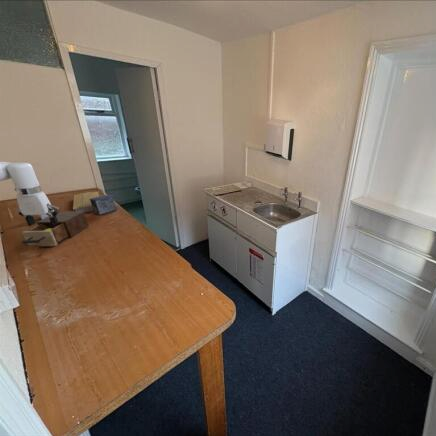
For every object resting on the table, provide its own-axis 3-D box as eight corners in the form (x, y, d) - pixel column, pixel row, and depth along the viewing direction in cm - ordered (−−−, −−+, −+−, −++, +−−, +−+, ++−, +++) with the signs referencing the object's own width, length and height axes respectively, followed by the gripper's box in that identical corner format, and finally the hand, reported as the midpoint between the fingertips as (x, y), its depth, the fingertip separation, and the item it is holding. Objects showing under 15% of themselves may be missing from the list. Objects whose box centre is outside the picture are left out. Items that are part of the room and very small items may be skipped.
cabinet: (71, 238, 122) (65, 221, 118) (43, 239, 120) (36, 222, 116) (89, 226, 135) (84, 210, 131) (64, 226, 133) (58, 211, 129)
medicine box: (39, 218, 142) (34, 204, 138) (49, 215, 145) (44, 202, 142) (43, 221, 138) (37, 207, 134) (53, 219, 141) (48, 205, 138)
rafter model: (102, 209, 158) (100, 201, 155) (74, 214, 149) (71, 205, 147) (99, 196, 182) (97, 188, 180) (75, 199, 173) (72, 191, 171)
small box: (111, 208, 160) (107, 194, 156) (117, 210, 158) (113, 195, 154) (93, 213, 152) (89, 198, 147) (99, 215, 149) (94, 200, 145)
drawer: (48, 250, 108) (41, 236, 105) (19, 252, 106) (12, 237, 103) (74, 233, 125) (70, 220, 122) (50, 233, 123) (44, 220, 120)
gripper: (-1, 193, 101) (15, 228, 108) (44, 192, 104) (58, 227, 111) (14, 188, 108) (29, 221, 115) (57, 188, 111) (69, 220, 118)
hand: (43, 224), depth 113 cm, fingers open, 9 cm apart
